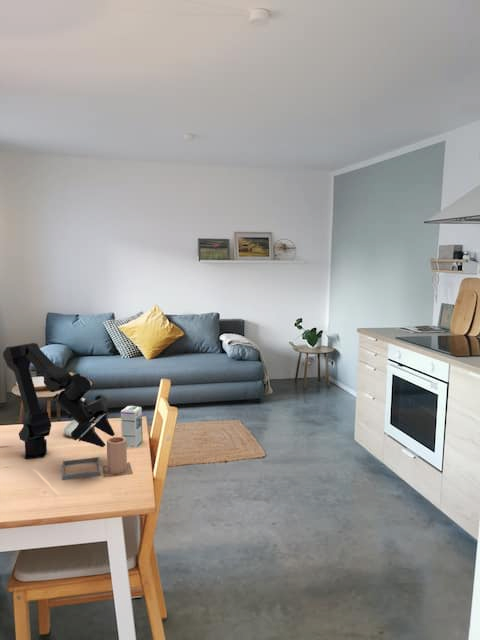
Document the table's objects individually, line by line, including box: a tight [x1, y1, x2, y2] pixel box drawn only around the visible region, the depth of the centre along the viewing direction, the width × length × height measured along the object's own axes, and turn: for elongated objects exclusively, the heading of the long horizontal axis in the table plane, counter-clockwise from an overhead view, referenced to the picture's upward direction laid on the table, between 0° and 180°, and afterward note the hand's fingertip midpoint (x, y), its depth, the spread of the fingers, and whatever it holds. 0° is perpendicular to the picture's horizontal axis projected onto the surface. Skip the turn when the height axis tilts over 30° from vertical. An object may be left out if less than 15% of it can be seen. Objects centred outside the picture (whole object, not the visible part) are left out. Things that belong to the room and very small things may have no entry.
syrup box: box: [120, 405, 144, 448], centre depth 184 cm, size 6×6×14 cm
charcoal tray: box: [61, 456, 102, 481], centre depth 162 cm, size 11×11×2 cm
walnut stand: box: [101, 462, 134, 478], centre depth 163 cm, size 9×9×5 cm
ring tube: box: [104, 436, 128, 474], centre depth 162 cm, size 7×6×10 cm
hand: (109, 440), depth 162 cm, fingers open, 9 cm apart
